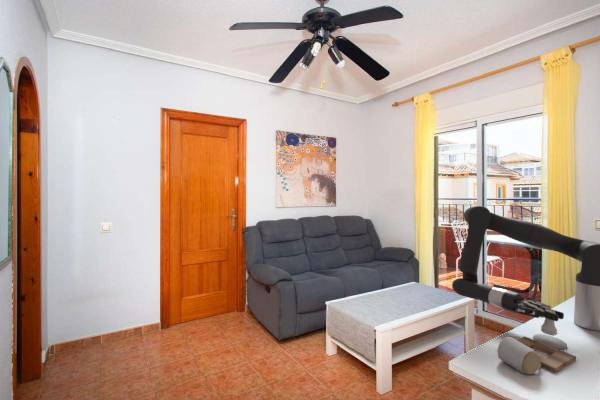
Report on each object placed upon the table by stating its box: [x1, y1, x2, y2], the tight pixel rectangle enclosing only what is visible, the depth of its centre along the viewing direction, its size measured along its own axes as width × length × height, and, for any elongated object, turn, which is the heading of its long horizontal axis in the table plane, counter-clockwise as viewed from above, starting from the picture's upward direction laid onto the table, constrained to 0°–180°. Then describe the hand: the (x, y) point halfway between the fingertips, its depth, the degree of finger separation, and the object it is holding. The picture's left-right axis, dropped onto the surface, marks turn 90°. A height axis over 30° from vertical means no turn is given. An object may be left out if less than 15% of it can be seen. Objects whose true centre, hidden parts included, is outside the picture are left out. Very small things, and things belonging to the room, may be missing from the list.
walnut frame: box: [516, 335, 577, 374], centre depth 95 cm, size 14×14×1 cm
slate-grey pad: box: [532, 333, 568, 351], centre depth 103 cm, size 9×9×1 cm
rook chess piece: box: [540, 308, 558, 336], centre depth 103 cm, size 4×4×8 cm
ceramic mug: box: [497, 336, 541, 375], centre depth 88 cm, size 11×8×8 cm
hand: (560, 317), depth 100 cm, fingers closed on rook chess piece, 3 cm apart
